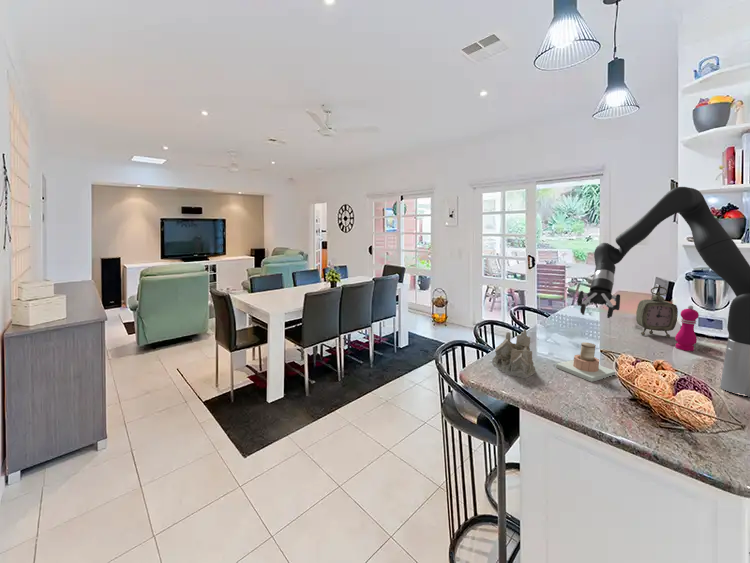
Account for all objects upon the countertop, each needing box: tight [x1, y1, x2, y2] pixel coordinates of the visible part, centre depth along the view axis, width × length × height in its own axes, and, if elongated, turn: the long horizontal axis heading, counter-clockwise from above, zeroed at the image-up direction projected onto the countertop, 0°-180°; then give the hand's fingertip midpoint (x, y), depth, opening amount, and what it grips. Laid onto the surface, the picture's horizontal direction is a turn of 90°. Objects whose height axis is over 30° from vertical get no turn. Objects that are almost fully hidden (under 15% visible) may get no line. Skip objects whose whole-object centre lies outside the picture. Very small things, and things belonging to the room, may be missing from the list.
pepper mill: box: [674, 305, 699, 352], centre depth 155 cm, size 7×7×20 cm
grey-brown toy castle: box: [491, 328, 536, 379], centre depth 132 cm, size 16×16×15 cm
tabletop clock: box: [635, 286, 679, 338], centre depth 175 cm, size 14×9×25 cm, turn 73°
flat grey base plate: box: [555, 354, 616, 383], centre depth 130 cm, size 14×14×5 cm
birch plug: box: [579, 341, 596, 362], centre depth 130 cm, size 4×4×9 cm
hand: (595, 315), depth 136 cm, fingers open, 8 cm apart
